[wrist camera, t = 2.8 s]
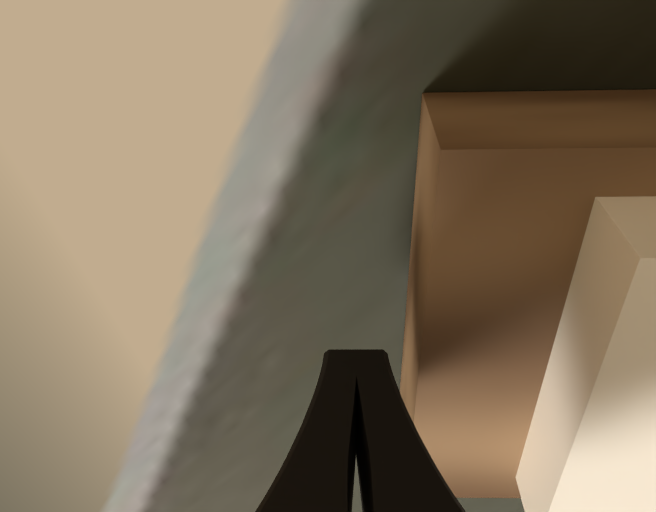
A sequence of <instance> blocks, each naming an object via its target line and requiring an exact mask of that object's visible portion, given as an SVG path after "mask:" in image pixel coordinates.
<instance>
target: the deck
mask: <svg viewBox="0 0 656 512" xmlns="http://www.w3.org/2000/svg"><path fill="white" fill-rule="evenodd" d="M635 196H656V89H646V90H576V91H506V92H435V93H422V102H421V116H420V129H419V142H418V156H417V169H416V183H415V196H414V209H413V223H412V236H411V250H410V263H409V276H408V290H407V303H406V317H405V330H404V343H403V357H402V370H401V384H400V394H401V397H402V399H403V402H404V404H405V406H406V408H407V411H408V413H409V415H410V417H411V419H412V421H413V423H414V425H415V427H416V429H417V431H418V433H419V435H420V437H421V439H422V441H423V443H424V445H425V447H426V449H427V450H428V452H429V454H430V456H431V458H432V459H433V461H434V463H435V465H436V466H437V468H438V470H439V471H440V473H441V475H442V476H443V478H444V480H445V481H446V483H447V485H448V486H449V488H450V489H451V491H452V492H453V494H454V495H455V497H459V498H521V496H520V492H519V489H518V485H517V481H516V474H517V471H518V467H519V464H520V460H521V457H522V453H523V449H524V446H525V442H526V439H527V435H528V432H529V428H530V425H531V421H532V418H533V414H534V411H535V407H536V404H537V400H538V397H539V393H540V390H541V386H542V383H543V379H544V376H545V372H546V369H547V365H548V362H549V358H550V355H551V351H552V348H553V344H554V341H555V337H556V333H557V330H558V326H559V323H560V319H561V316H562V312H563V309H564V305H565V302H566V298H567V295H568V291H569V288H570V284H571V281H572V277H573V274H574V270H575V267H576V263H577V260H578V256H579V253H580V249H581V246H582V242H583V239H584V235H585V232H586V228H587V225H588V221H589V217H590V214H591V210H592V207H593V203H594V200H595V197H635Z"/></svg>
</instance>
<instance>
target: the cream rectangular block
mask: <svg viewBox="0 0 656 512" xmlns="http://www.w3.org/2000/svg"><path fill="white" fill-rule="evenodd" d="M516 481H517V485H518V489H519V492H520V496H521V499H522V503H523V507H524V510H525V512H656V196H635V197H595V200H594V203H593V207H592V210H591V214H590V217H589V221H588V225H587V228H586V232H585V235H584V239H583V242H582V246H581V249H580V253H579V256H578V260H577V263H576V267H575V270H574V274H573V277H572V281H571V284H570V288H569V291H568V295H567V298H566V302H565V305H564V309H563V312H562V316H561V319H560V323H559V326H558V330H557V333H556V337H555V341H554V344H553V348H552V351H551V355H550V358H549V362H548V365H547V369H546V372H545V376H544V379H543V383H542V386H541V390H540V393H539V397H538V400H537V404H536V407H535V411H534V414H533V418H532V421H531V425H530V428H529V432H528V435H527V439H526V442H525V446H524V449H523V453H522V457H521V460H520V464H519V467H518V471H517V474H516Z"/></svg>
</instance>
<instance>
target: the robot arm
mask: <svg viewBox="0 0 656 512" xmlns="http://www.w3.org/2000/svg"><path fill="white" fill-rule="evenodd" d="M356 457H357V466H358V475H359V484H360V493H361V502H362V511H363V512H465V510H464V509H463V507H462V506H461V504H460V503H459V502H458V500H457V498H456V497H455V495H454V494H453V492H452V491H451V489H450V488H449V486H448V485H447V483H446V481H445V480H444V478H443V476H442V475H441V473H440V471H439V470H438V468H437V466H436V465H435V463H434V461H433V459H432V458H431V456H430V454H429V452H428V450H427V449H426V447H425V445H424V443H423V441H422V439H421V437H420V435H419V433H418V431H417V429H416V427H415V425H414V423H413V421H412V419H411V417H410V415H409V413H408V411H407V408H406V406H405V404H404V402H403V399H402V397H401V394H400V392H399V389H398V387H397V384H396V381H395V379H394V376H393V373H392V370H391V366H390V363H389V359H388V354H387V353H386V352H385V351H384V350H328V351H327V352H325V353H324V358H323V364H322V368H321V372H320V376H319V379H318V383H317V386H316V389H315V392H314V395H313V398H312V400H311V403H310V405H309V408H308V410H307V413H306V415H305V418H304V420H303V423H302V425H301V428H300V430H299V432H298V434H297V436H296V438H295V440H294V443H293V445H292V447H291V449H290V451H289V453H288V455H287V457H286V459H285V461H284V463H283V465H282V467H281V469H280V471H279V473H278V474H277V476H276V478H275V480H274V482H273V483H272V485H271V487H270V488H269V490H268V492H267V494H266V495H265V497H264V499H263V500H262V502H261V504H260V505H259V507H258V508H257V510H256V511H255V512H352V499H353V486H354V473H355V459H356Z"/></svg>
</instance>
